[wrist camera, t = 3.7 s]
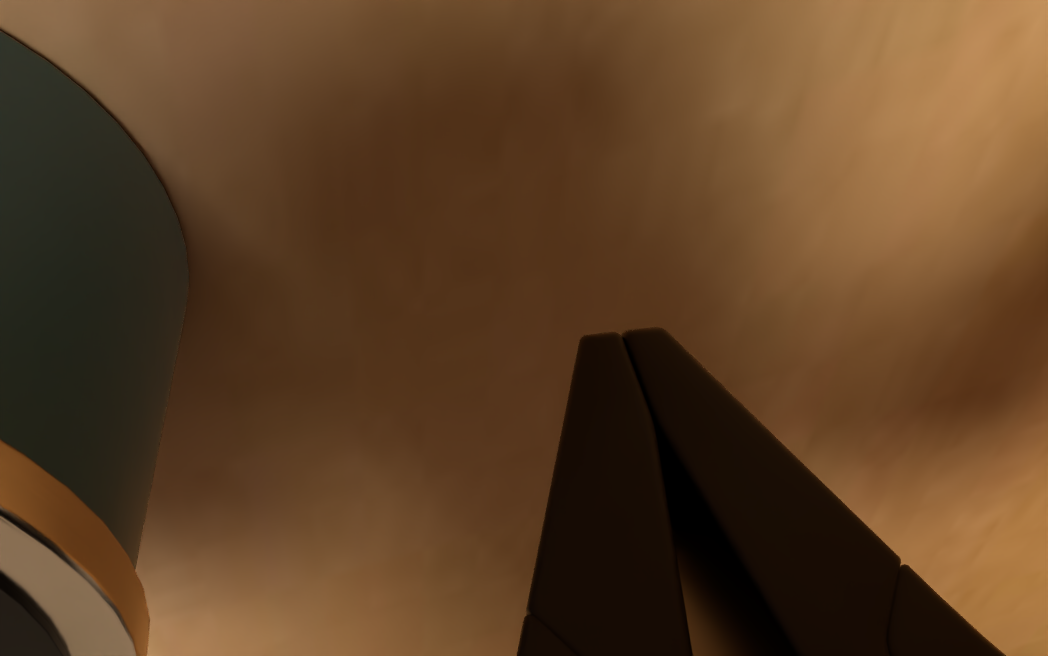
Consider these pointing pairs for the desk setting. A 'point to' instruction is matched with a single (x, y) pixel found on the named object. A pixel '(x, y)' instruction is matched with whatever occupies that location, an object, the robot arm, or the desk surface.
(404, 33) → the desk surface
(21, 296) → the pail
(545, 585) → the robot arm
